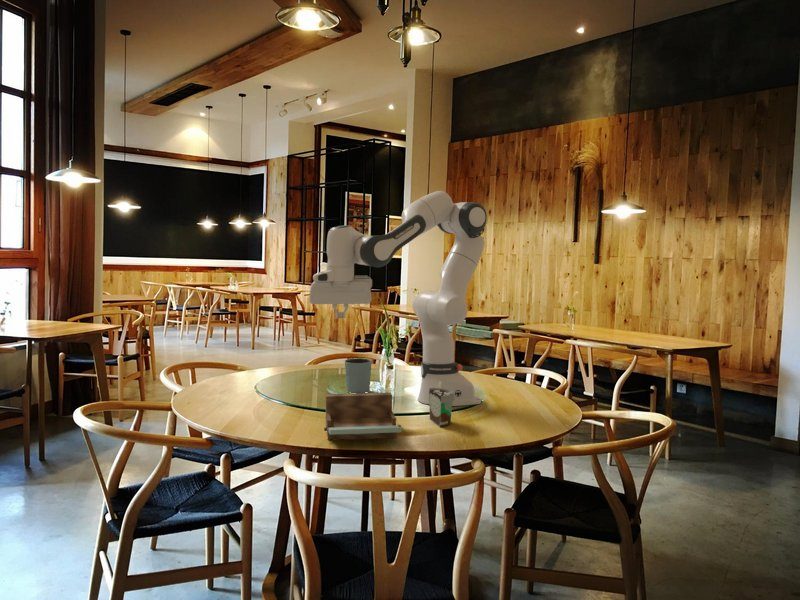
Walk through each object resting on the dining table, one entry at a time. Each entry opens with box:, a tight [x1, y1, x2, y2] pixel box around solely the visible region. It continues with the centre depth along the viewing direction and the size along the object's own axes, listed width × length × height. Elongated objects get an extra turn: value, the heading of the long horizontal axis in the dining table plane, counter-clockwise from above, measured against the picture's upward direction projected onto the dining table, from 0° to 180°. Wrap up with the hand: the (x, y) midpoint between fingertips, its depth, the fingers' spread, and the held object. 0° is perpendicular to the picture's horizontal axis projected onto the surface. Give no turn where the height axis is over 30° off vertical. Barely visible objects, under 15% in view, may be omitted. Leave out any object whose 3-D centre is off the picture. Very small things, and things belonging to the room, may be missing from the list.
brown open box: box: [323, 392, 402, 440], centre depth 194 cm, size 22×14×10 cm, turn 99°
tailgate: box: [329, 425, 403, 435], centre depth 183 cm, size 20×2×9 cm
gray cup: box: [344, 357, 373, 393], centre depth 246 cm, size 10×10×12 cm
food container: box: [429, 388, 455, 428], centre depth 206 cm, size 12×6×10 cm, turn 17°
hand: (340, 317), depth 214 cm, fingers closed
